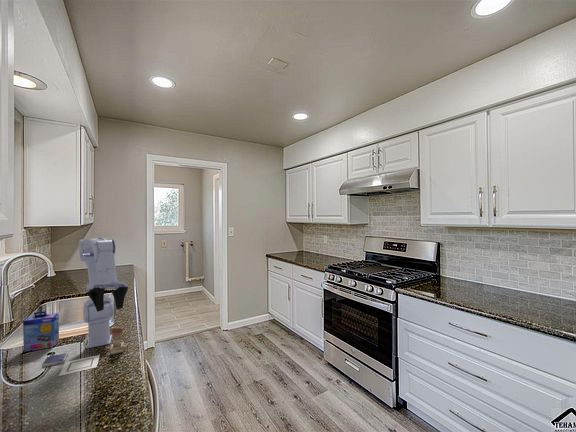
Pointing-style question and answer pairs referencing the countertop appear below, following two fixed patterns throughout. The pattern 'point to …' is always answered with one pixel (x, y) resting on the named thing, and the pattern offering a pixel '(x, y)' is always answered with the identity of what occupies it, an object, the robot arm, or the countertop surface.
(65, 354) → the ink pad
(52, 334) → the ink cartridge box
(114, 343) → the stamp
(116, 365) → the countertop surface
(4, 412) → the countertop surface
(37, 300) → the countertop surface
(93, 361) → the paper
